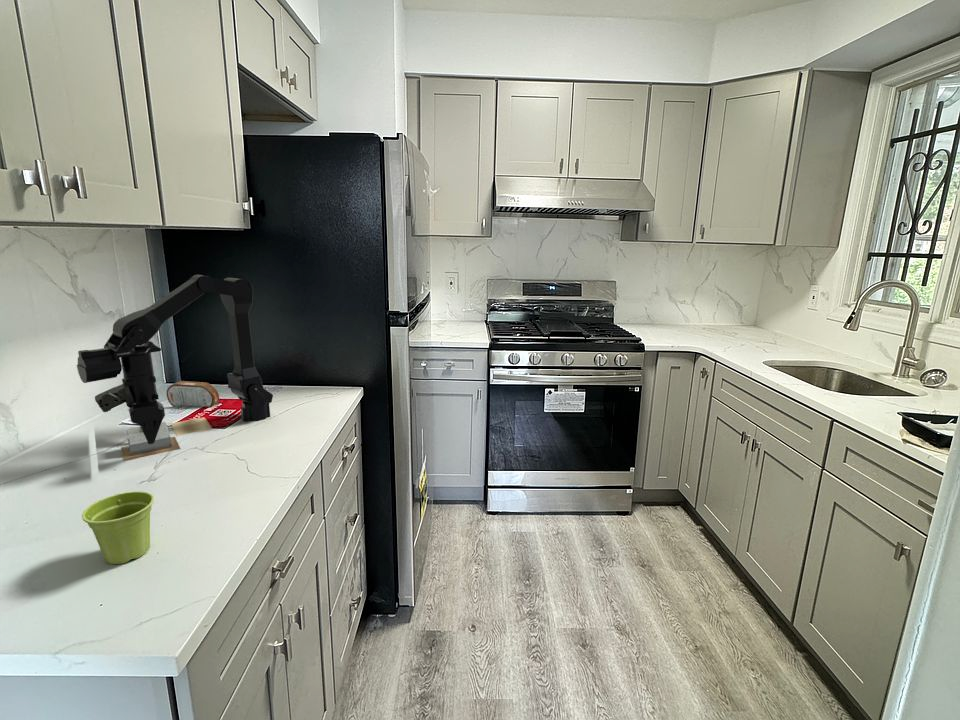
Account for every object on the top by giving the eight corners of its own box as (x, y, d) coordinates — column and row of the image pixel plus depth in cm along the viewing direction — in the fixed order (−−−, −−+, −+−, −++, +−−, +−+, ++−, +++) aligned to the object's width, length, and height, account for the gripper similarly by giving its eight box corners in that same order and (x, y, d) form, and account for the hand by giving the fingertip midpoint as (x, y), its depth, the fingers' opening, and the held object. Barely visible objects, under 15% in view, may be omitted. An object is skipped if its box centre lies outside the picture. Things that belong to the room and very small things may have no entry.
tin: (221, 409, 147) (218, 381, 145) (214, 412, 144) (211, 385, 142) (174, 406, 149) (170, 379, 147) (166, 410, 146) (162, 382, 144)
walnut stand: (175, 442, 124) (174, 436, 123) (181, 454, 117) (180, 448, 116) (121, 453, 117) (120, 447, 117) (124, 467, 110) (123, 460, 110)
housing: (129, 448, 116) (125, 428, 115) (168, 440, 121) (166, 421, 120) (131, 456, 112) (127, 435, 111) (172, 447, 117) (169, 427, 116)
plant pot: (76, 572, 76) (65, 522, 74) (116, 536, 85) (108, 491, 83) (139, 571, 77) (130, 521, 74) (172, 535, 86) (165, 490, 84)
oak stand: (205, 422, 137) (204, 417, 136) (212, 433, 129) (212, 428, 129) (171, 428, 132) (170, 423, 131) (177, 440, 124) (176, 435, 124)
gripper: (92, 369, 114) (104, 432, 118) (95, 389, 100) (108, 460, 104) (150, 362, 121) (159, 422, 125) (160, 380, 107) (170, 447, 111)
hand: (148, 437), depth 116 cm, fingers open, 9 cm apart
